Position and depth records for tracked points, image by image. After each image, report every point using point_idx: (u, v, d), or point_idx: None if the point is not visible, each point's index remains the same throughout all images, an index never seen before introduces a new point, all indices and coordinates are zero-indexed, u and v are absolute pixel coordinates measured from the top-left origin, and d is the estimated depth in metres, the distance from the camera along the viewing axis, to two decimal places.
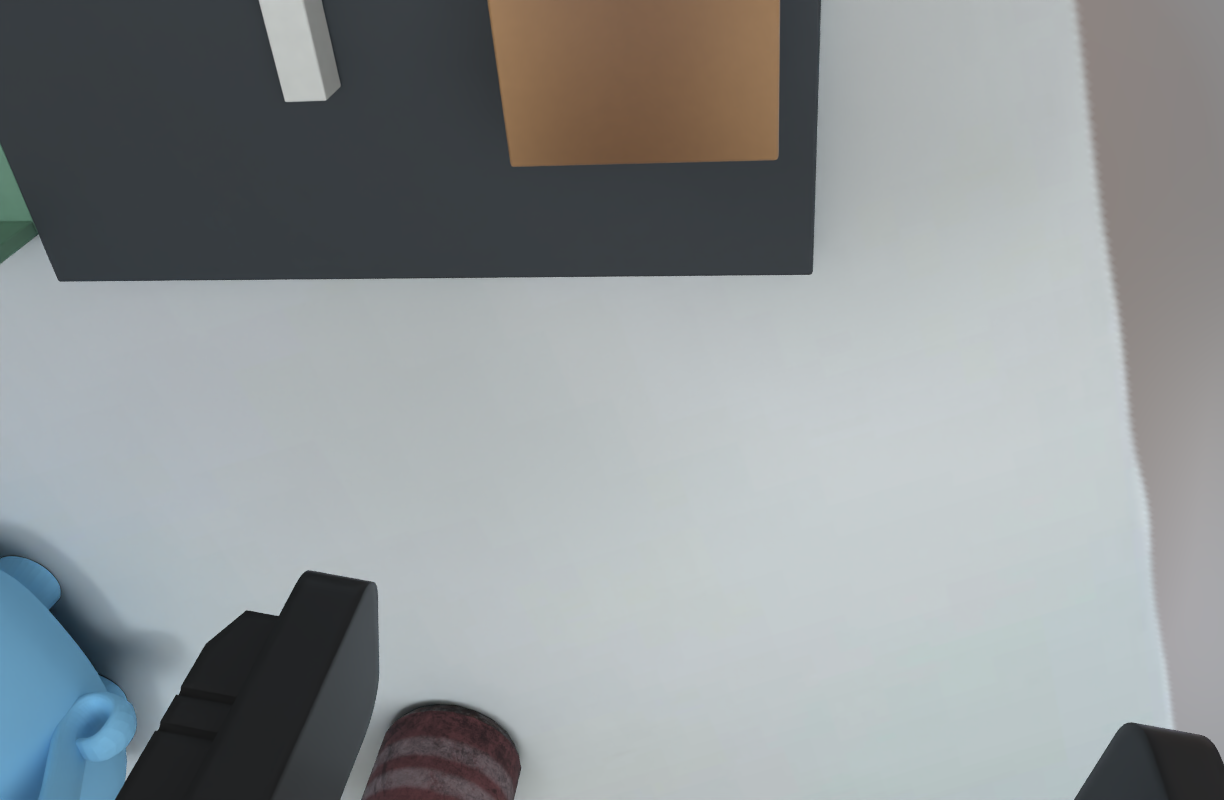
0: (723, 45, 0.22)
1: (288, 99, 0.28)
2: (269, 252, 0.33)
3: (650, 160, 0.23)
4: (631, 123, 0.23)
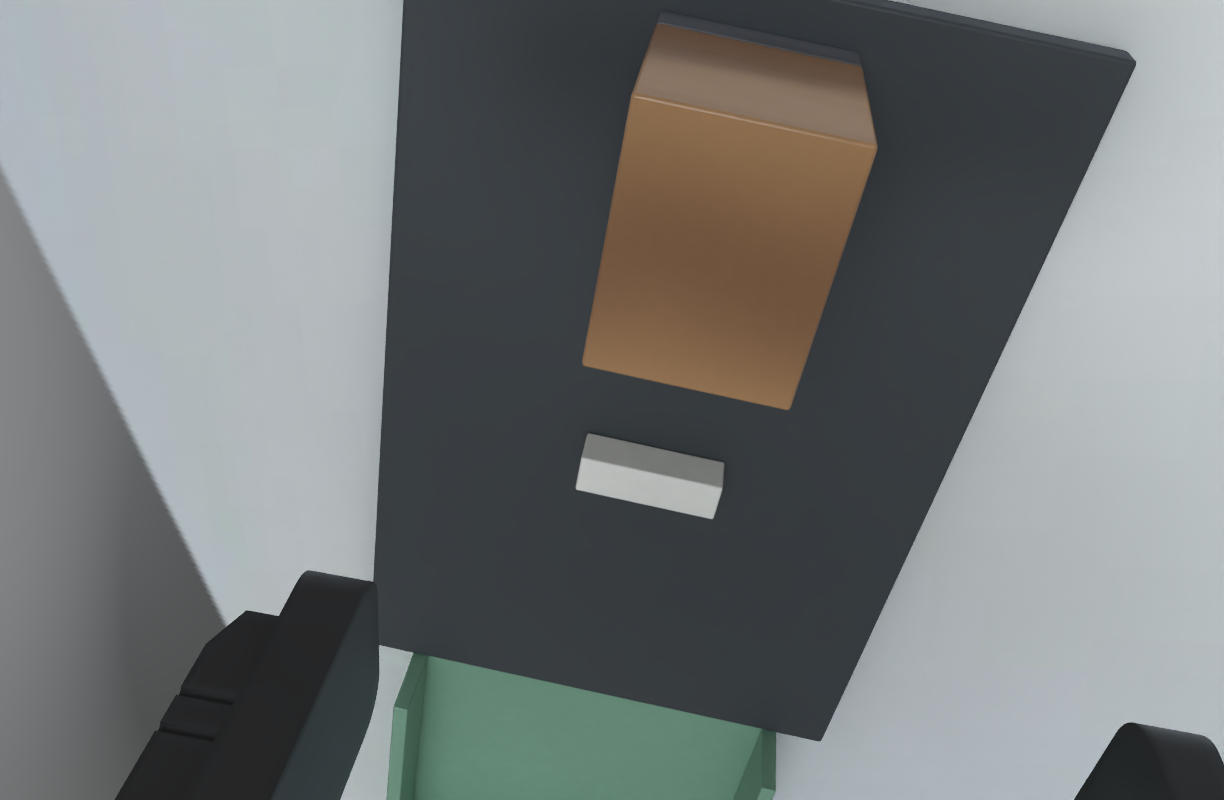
0: (724, 175, 0.19)
1: (711, 515, 0.30)
2: (859, 585, 0.32)
3: (828, 280, 0.20)
4: (780, 286, 0.21)
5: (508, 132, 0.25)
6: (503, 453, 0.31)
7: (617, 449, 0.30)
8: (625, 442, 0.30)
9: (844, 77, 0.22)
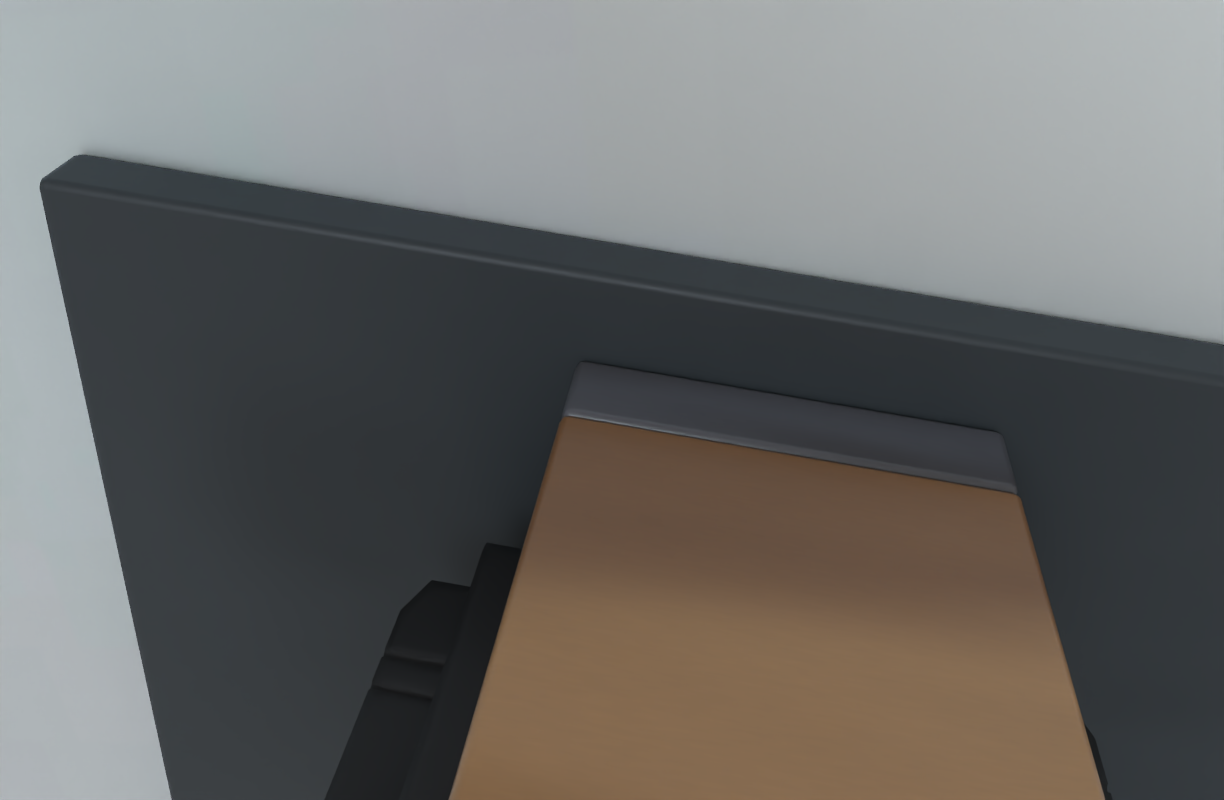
0: None
1: None
2: None
3: None
4: None
5: (315, 550, 0.13)
6: None
7: None
8: None
9: (991, 557, 0.09)
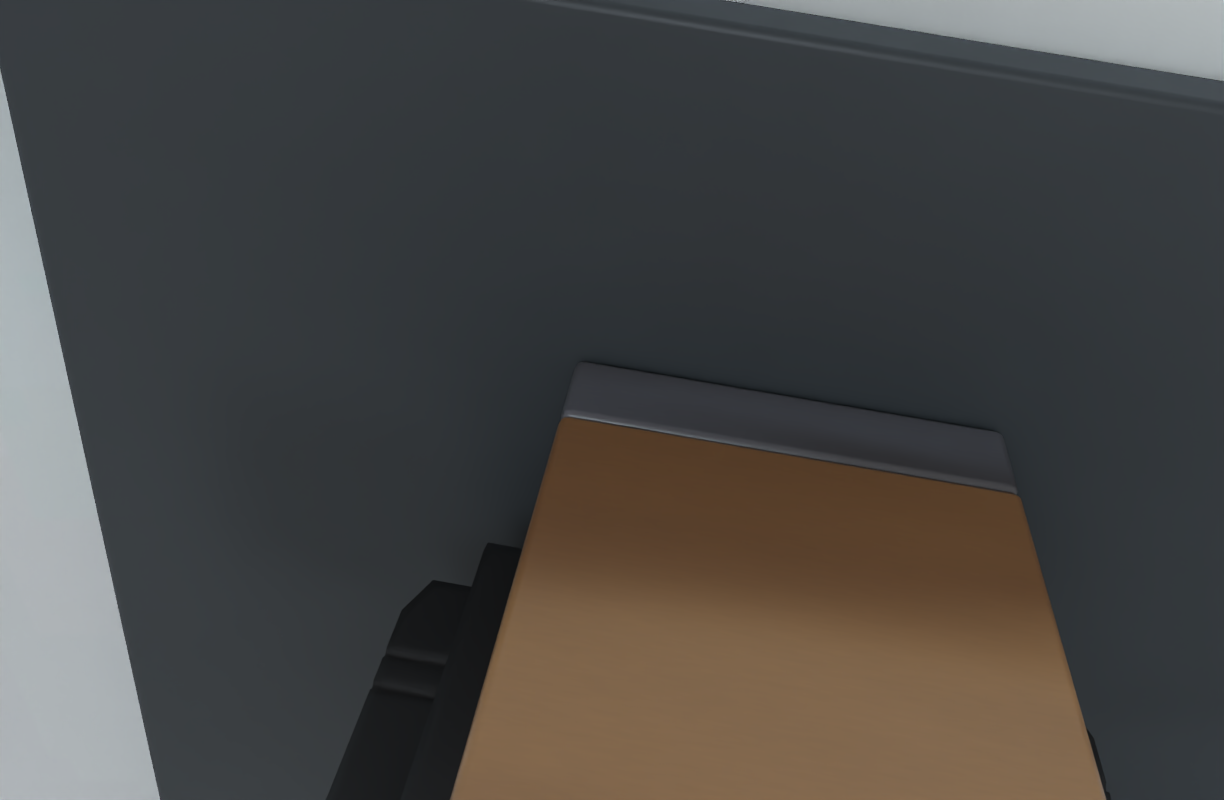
0: None
1: None
2: None
3: None
4: None
5: (290, 377, 0.12)
6: None
7: None
8: None
9: (991, 557, 0.09)
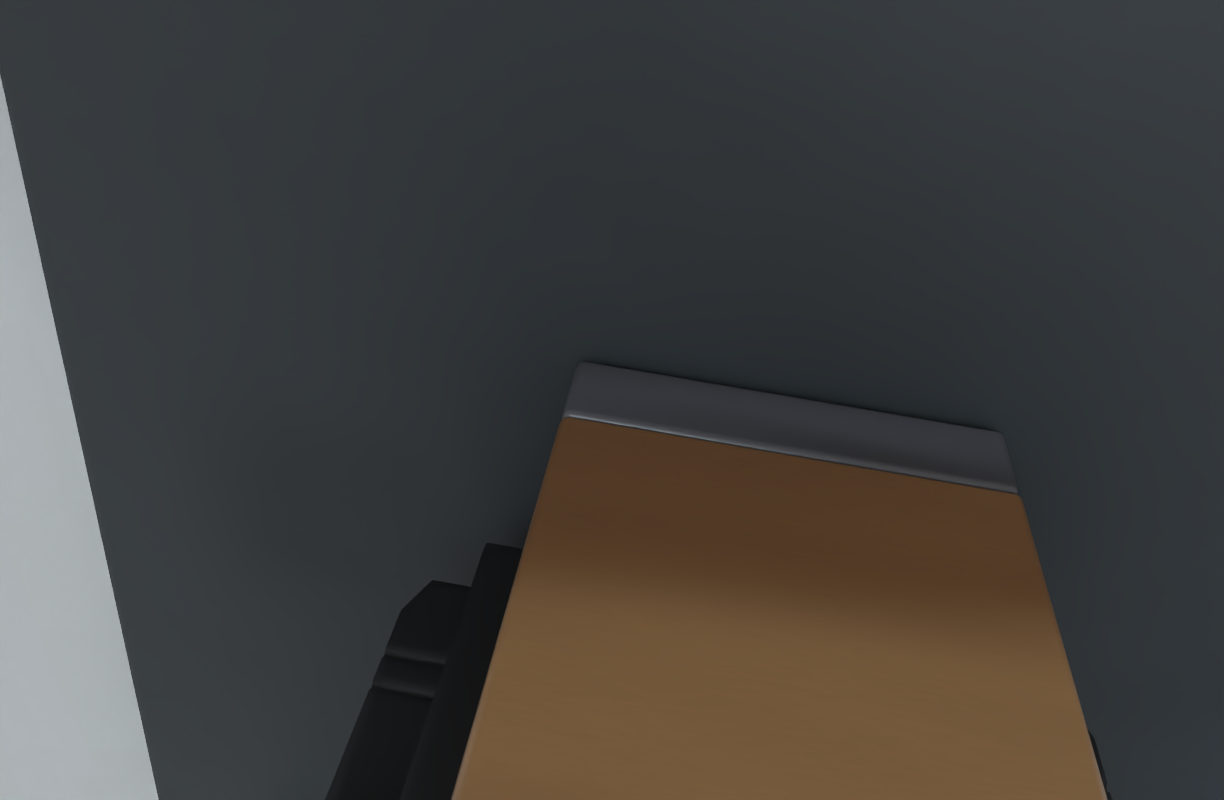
0: None
1: None
2: None
3: None
4: None
5: None
6: (372, 410, 0.12)
7: None
8: None
9: (992, 558, 0.09)
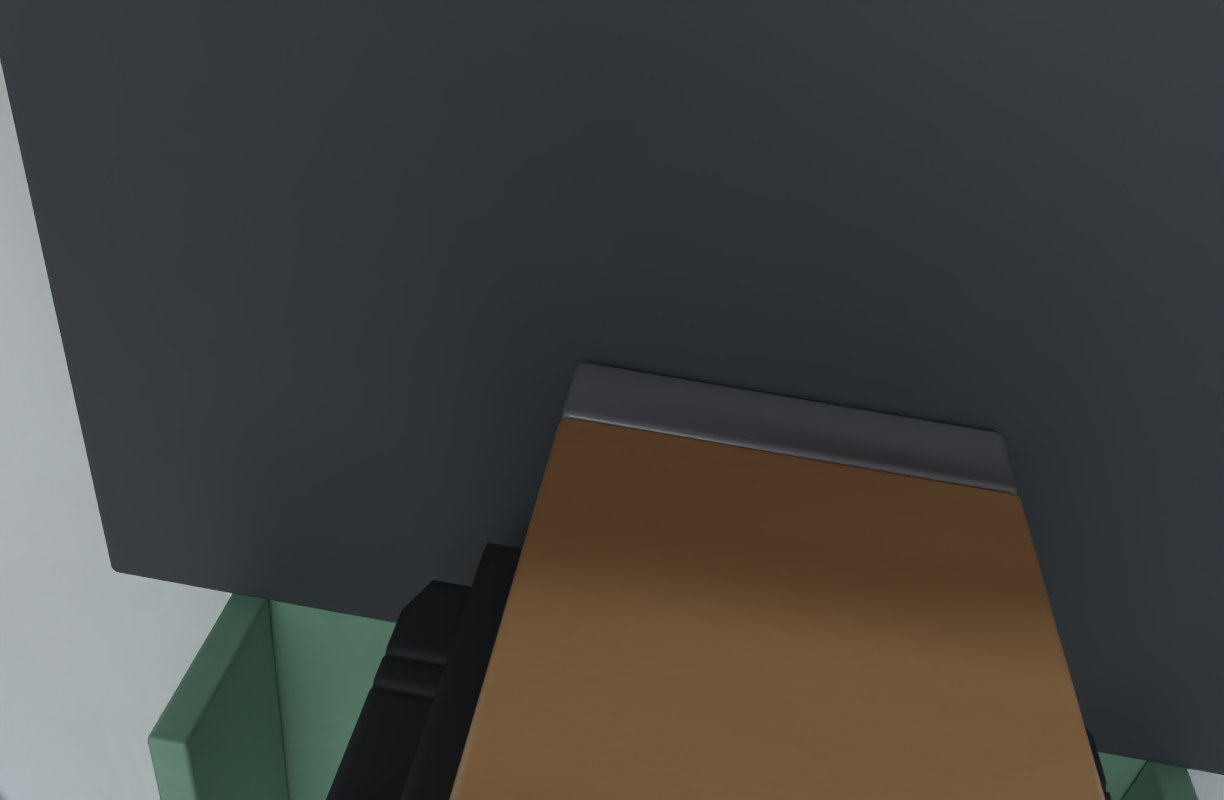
0: None
1: None
2: None
3: None
4: None
5: None
6: None
7: None
8: None
9: (991, 558, 0.09)
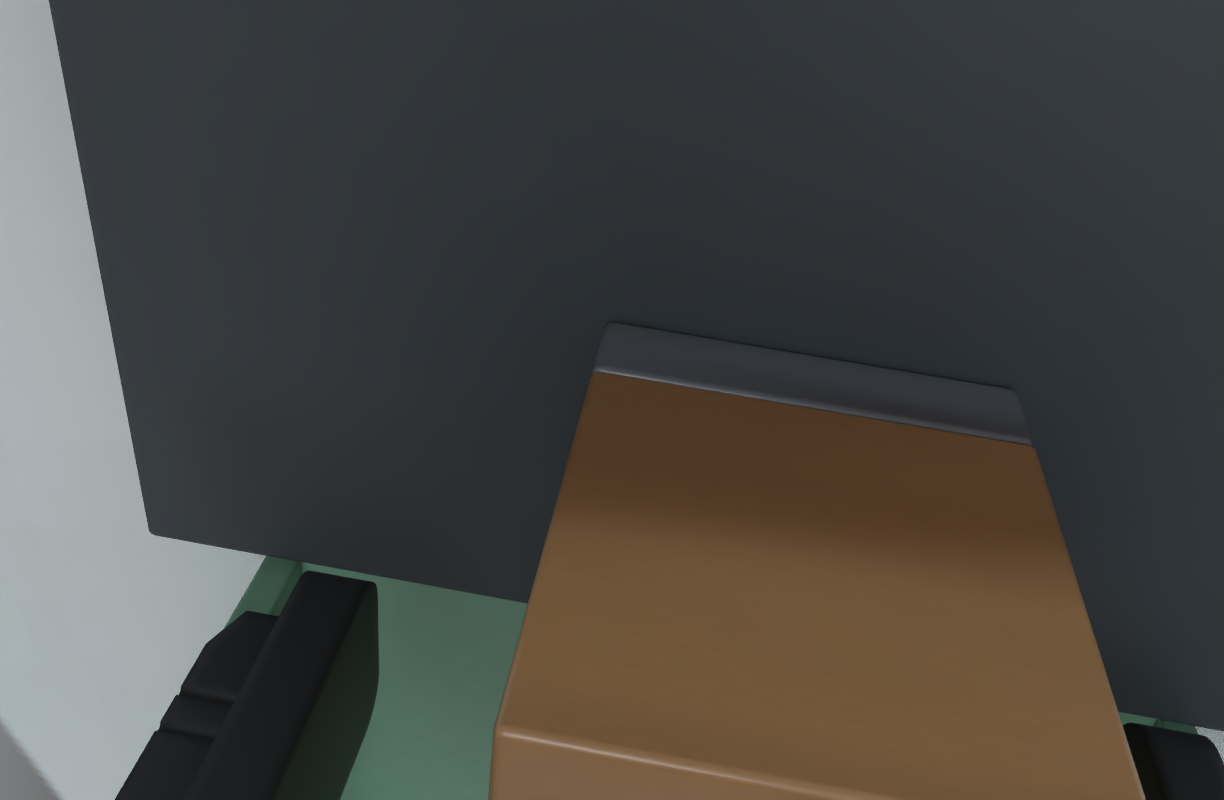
0: None
1: None
2: None
3: None
4: None
5: None
6: None
7: None
8: None
9: (1008, 502, 0.10)
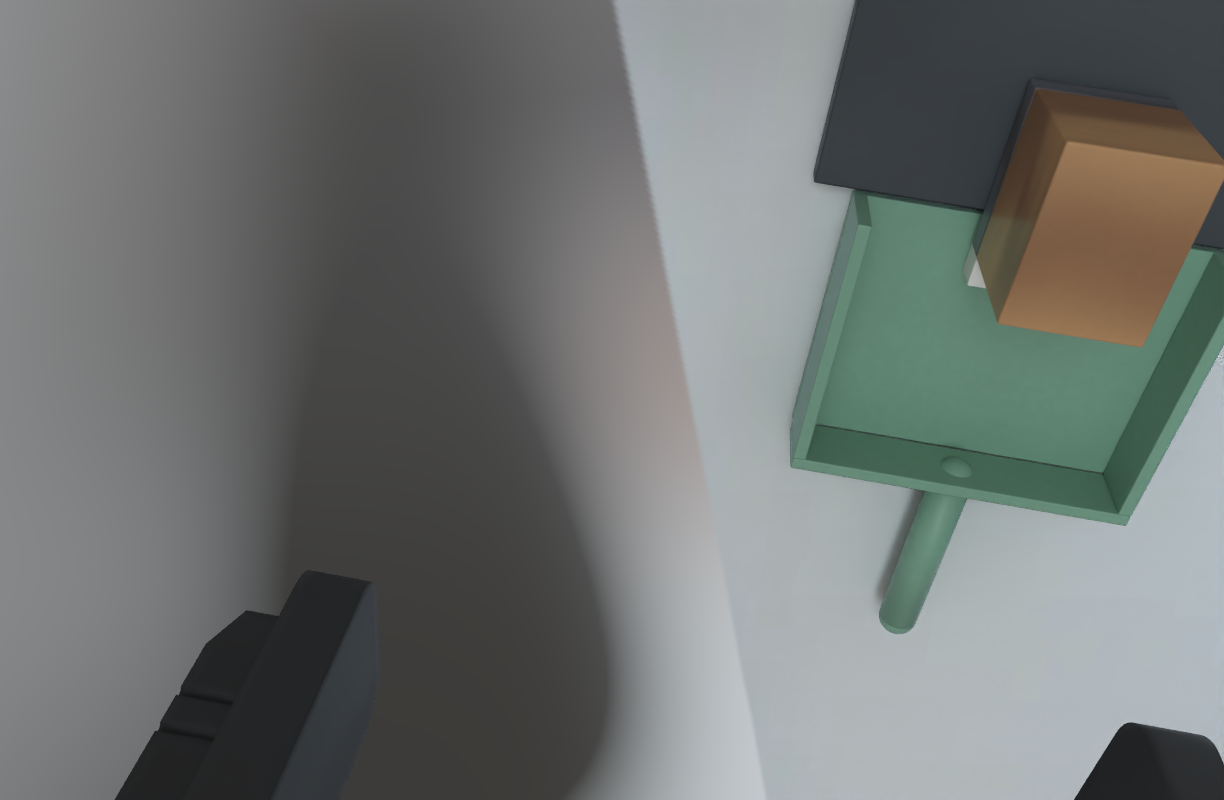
0: (1122, 190, 0.30)
1: None
2: None
3: (1184, 256, 0.31)
4: (1149, 262, 0.31)
5: None
6: None
7: None
8: None
9: (1176, 119, 0.32)
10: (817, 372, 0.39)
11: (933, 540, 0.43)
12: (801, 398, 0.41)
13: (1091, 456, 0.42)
